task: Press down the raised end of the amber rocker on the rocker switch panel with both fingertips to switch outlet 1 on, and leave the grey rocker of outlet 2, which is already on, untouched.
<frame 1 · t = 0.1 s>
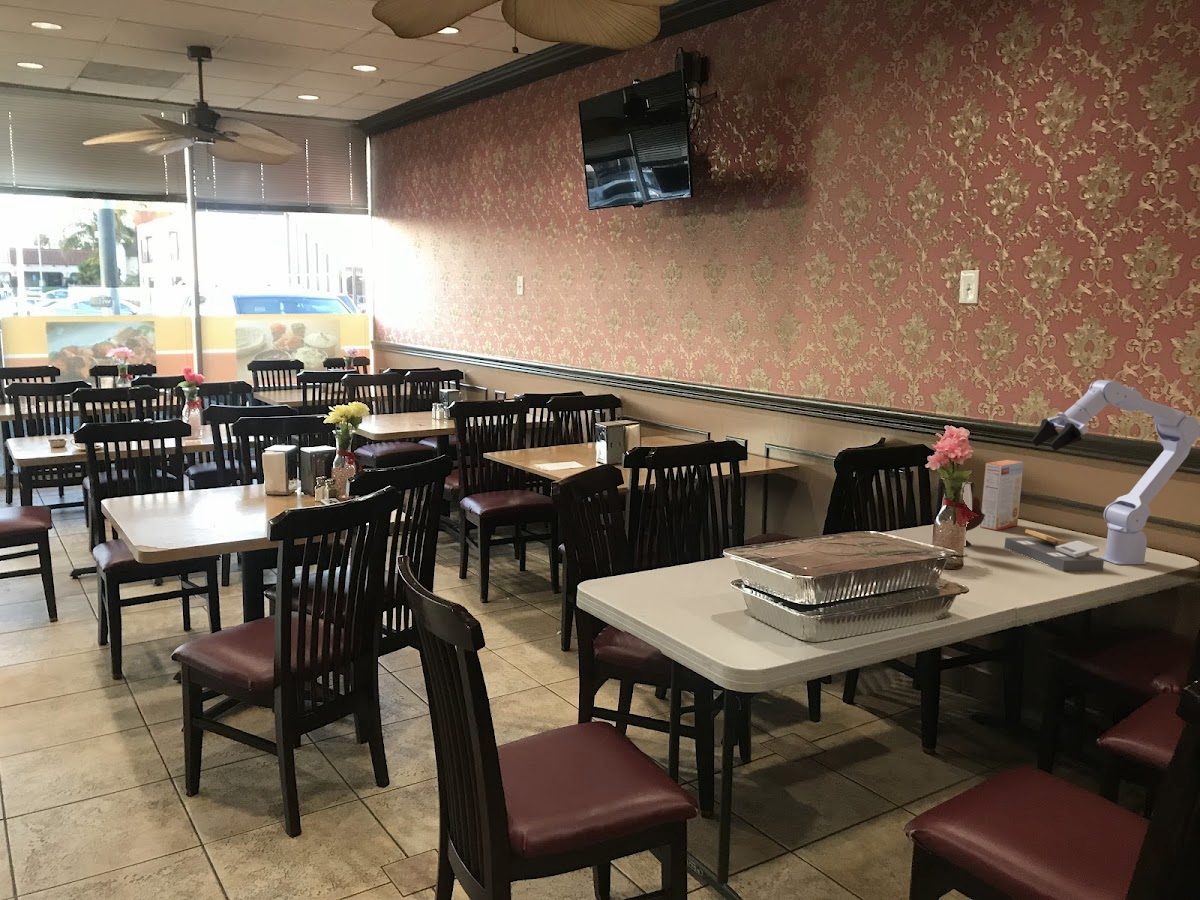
hand: (1043, 445, 254), 32 cm above the table, tool tilted 50°, fingers open, 7 cm apart
ice cream bowl: (960, 544, 276), on the table
wineglass: (952, 553, 264), on the table
rocker a: (1045, 538, 268), point 4 cm above the table, hinge at -14.0°
rocker switch panel: (1051, 559, 263), on the table
cracker box: (998, 527, 303), on the table
rocker b: (1076, 549, 256), point 4 cm above the table, hinge at 14.0°
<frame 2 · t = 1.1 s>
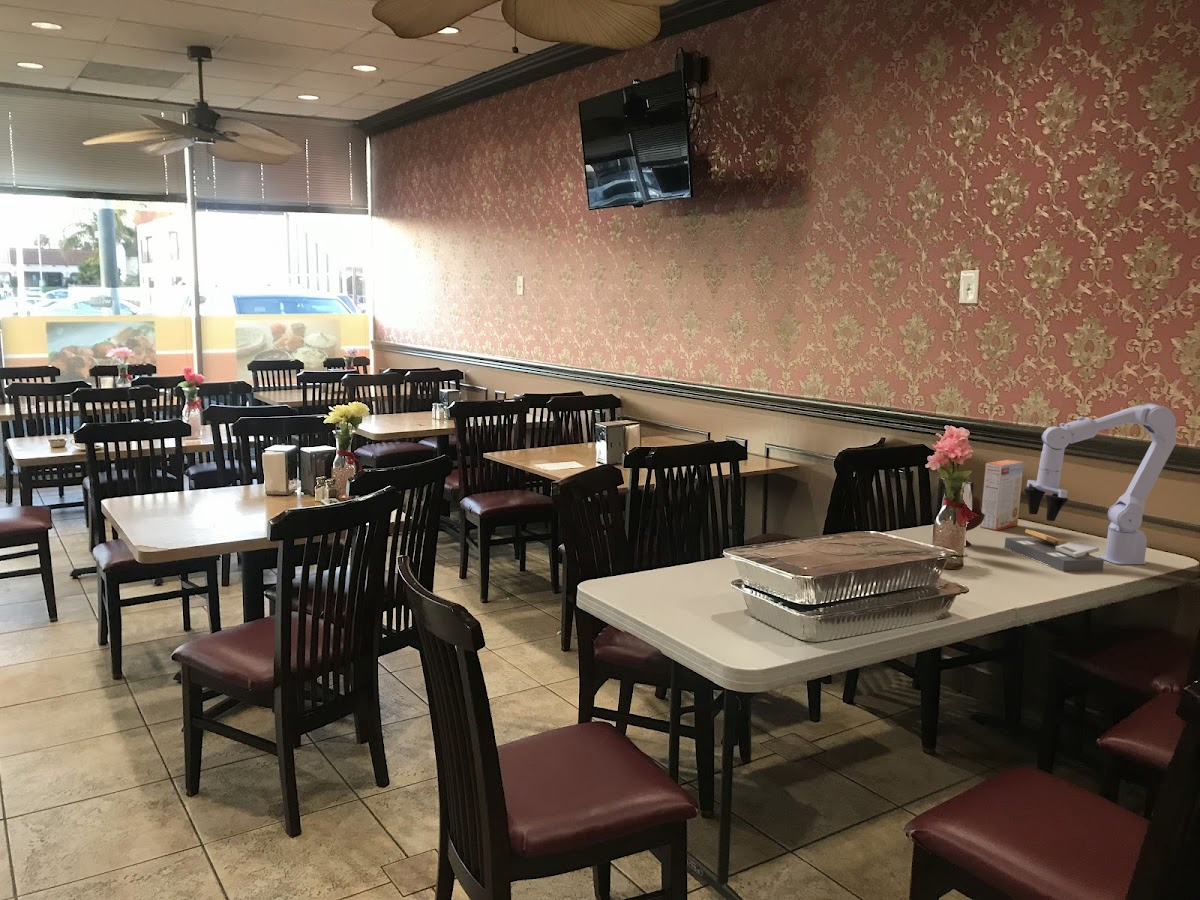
hand: (1041, 517, 267), 10 cm above the table, tool pointing down, fingers open, 7 cm apart
nothing on the table moved.
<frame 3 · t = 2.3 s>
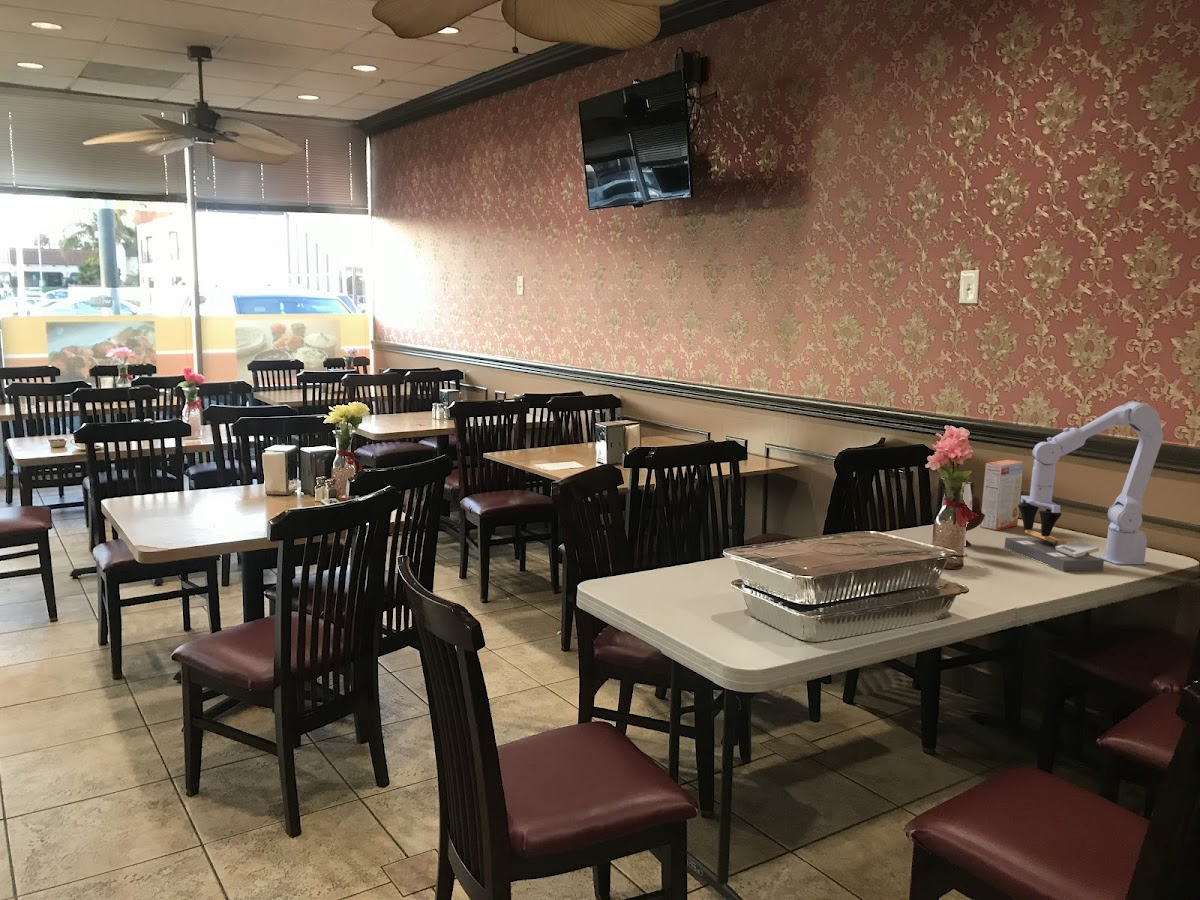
hand: (1036, 532, 268), 6 cm above the table, tool pointing down, fingers open, 7 cm apart
rocker a: (1045, 538, 268), point 4 cm above the table, hinge at -14.0°, touching gripper
everything else where it was.
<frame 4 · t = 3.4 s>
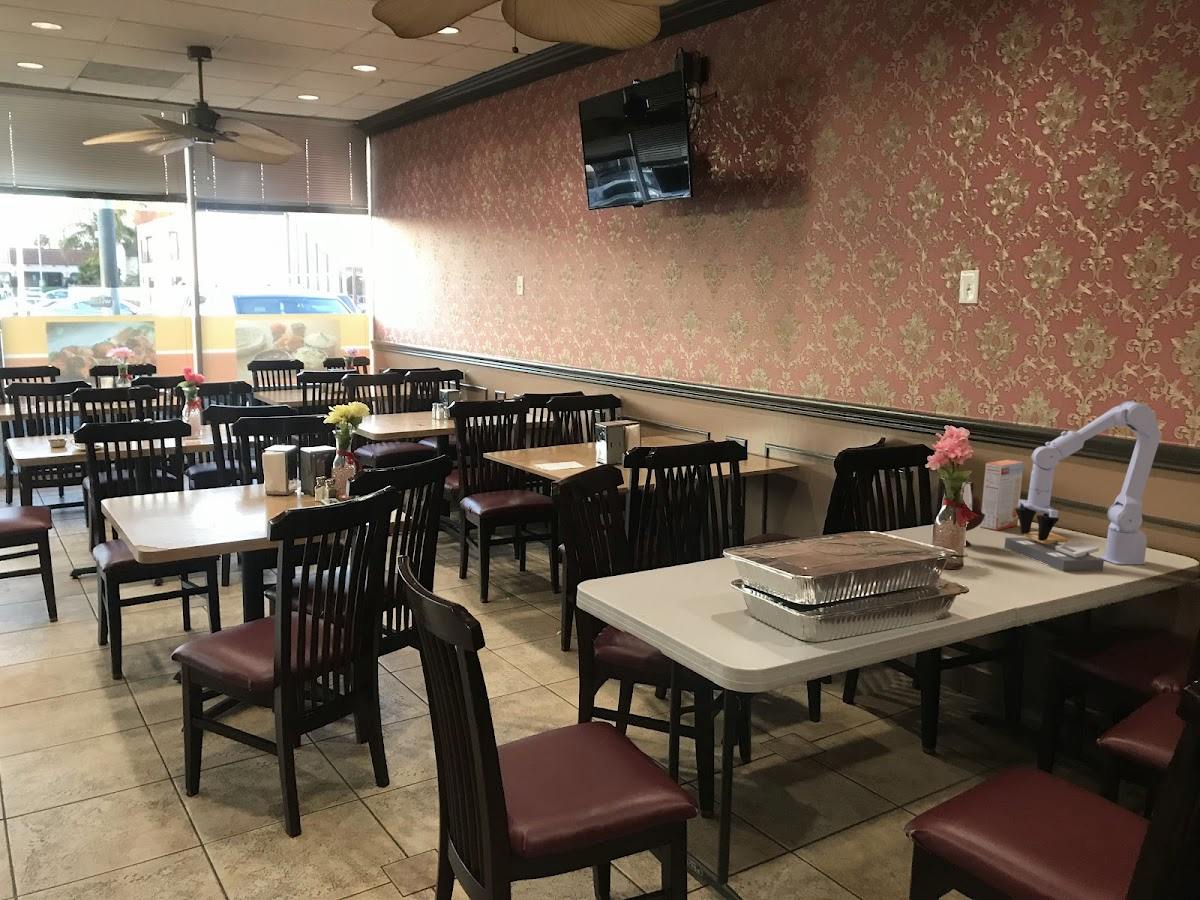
hand: (1033, 537, 268), 5 cm above the table, tool pointing down
rocker a: (1045, 538, 268), point 4 cm above the table, hinge at 4.0°, touching gripper
everything else where it was.
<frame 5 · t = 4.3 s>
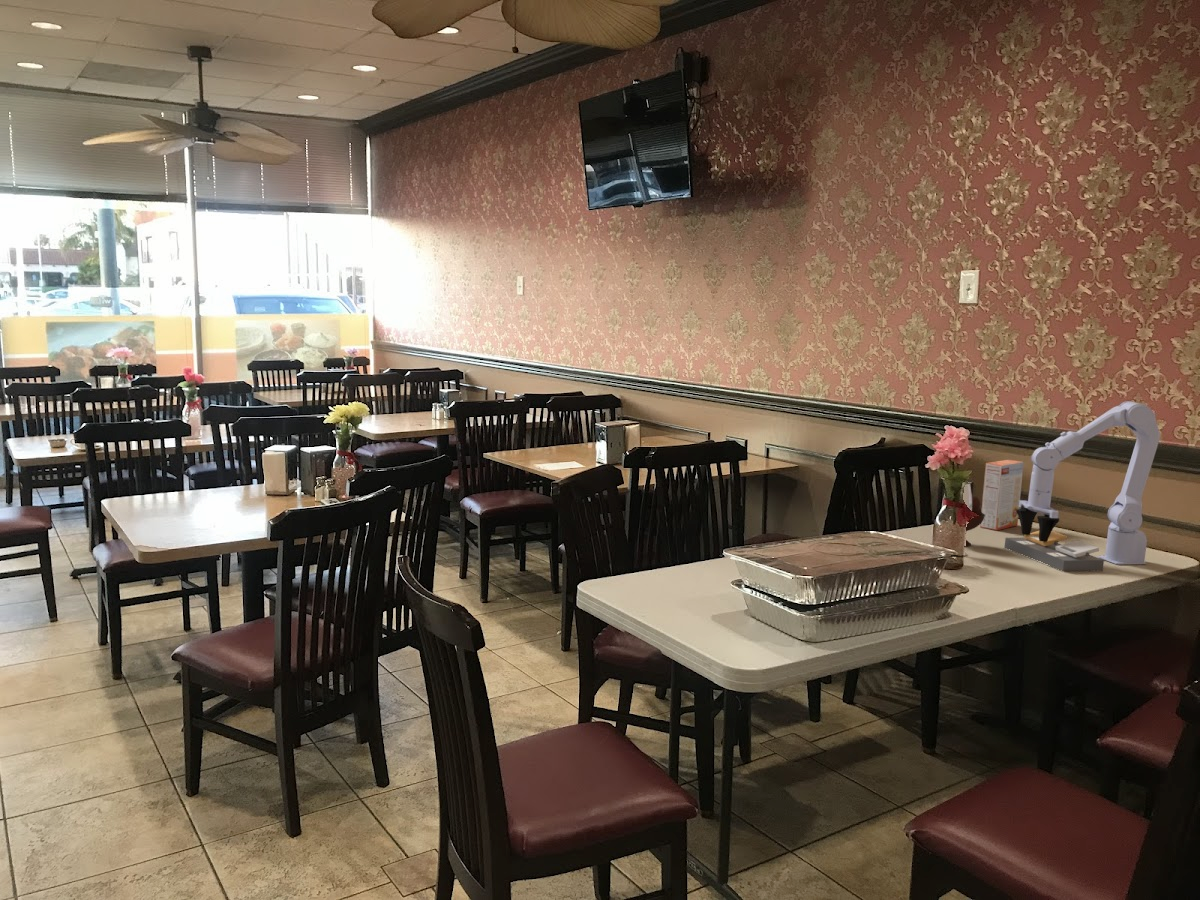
hand: (1034, 537, 268), 4 cm above the table, tool pointing down
rocker a: (1045, 538, 268), point 4 cm above the table, hinge at 16.3°, touching gripper
everything else where it was.
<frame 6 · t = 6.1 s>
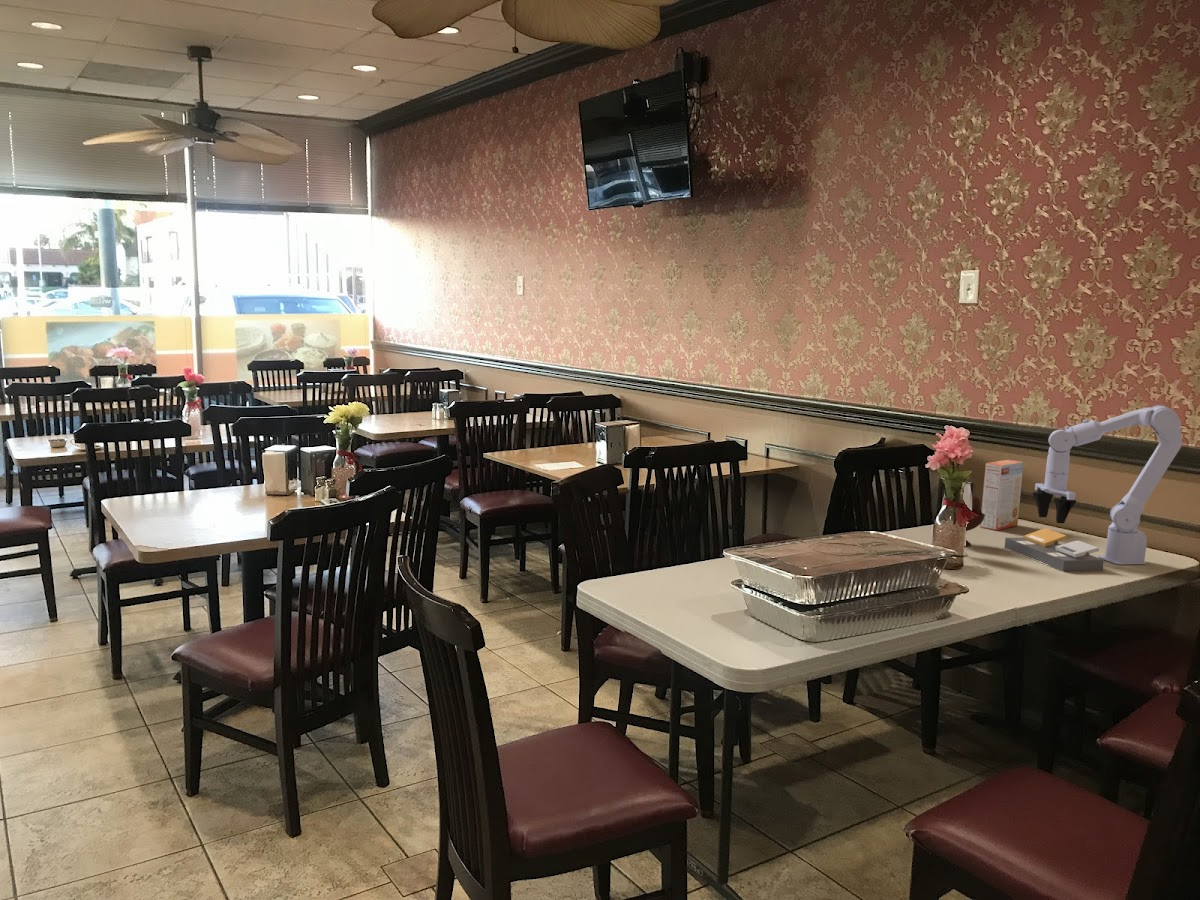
hand: (1051, 520, 269), 9 cm above the table, tool pointing down, fingers open, 7 cm apart
rocker a: (1045, 538, 268), point 4 cm above the table, hinge at 18.9°
everything else where it was.
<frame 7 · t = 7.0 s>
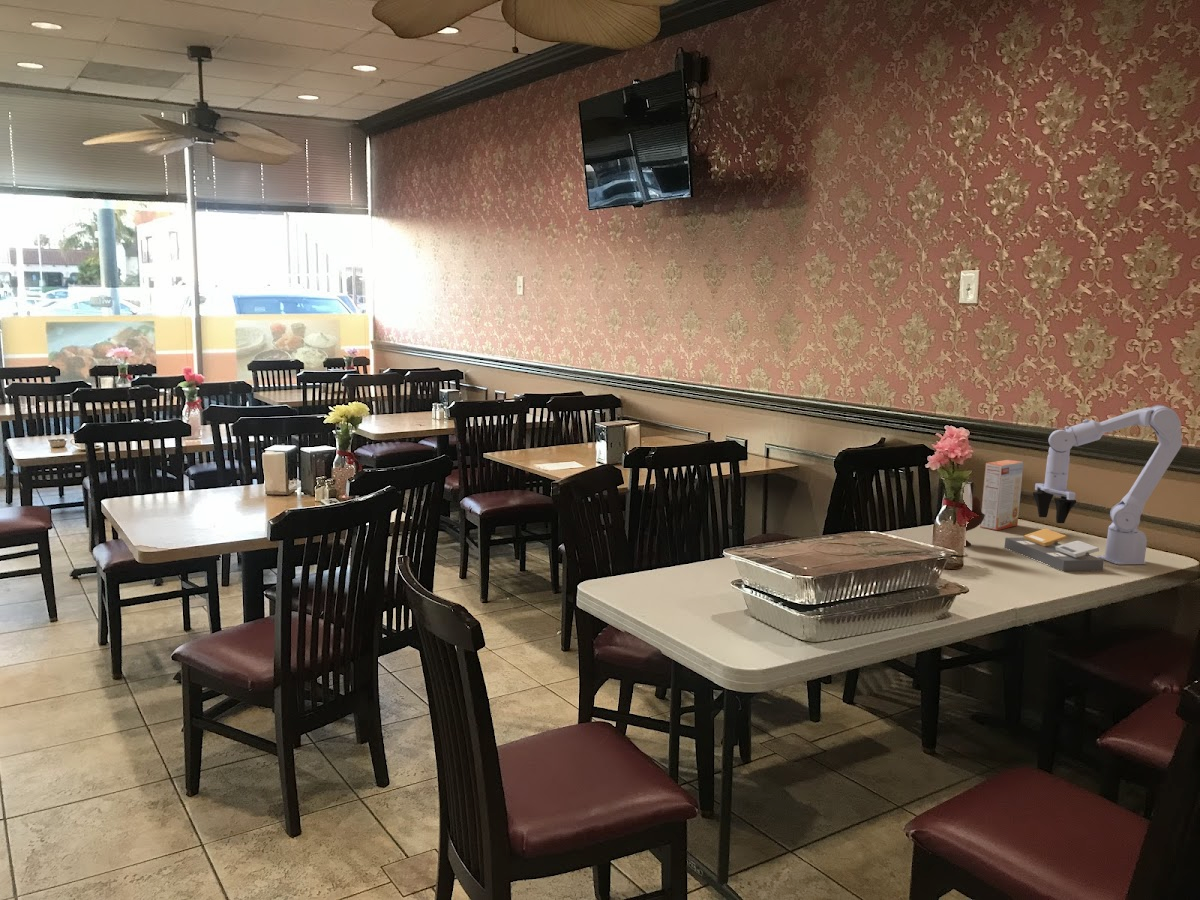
hand: (1051, 520, 269), 9 cm above the table, tool pointing down, fingers open, 7 cm apart
rocker a: (1045, 538, 268), point 4 cm above the table, hinge at 17.4°
everything else where it was.
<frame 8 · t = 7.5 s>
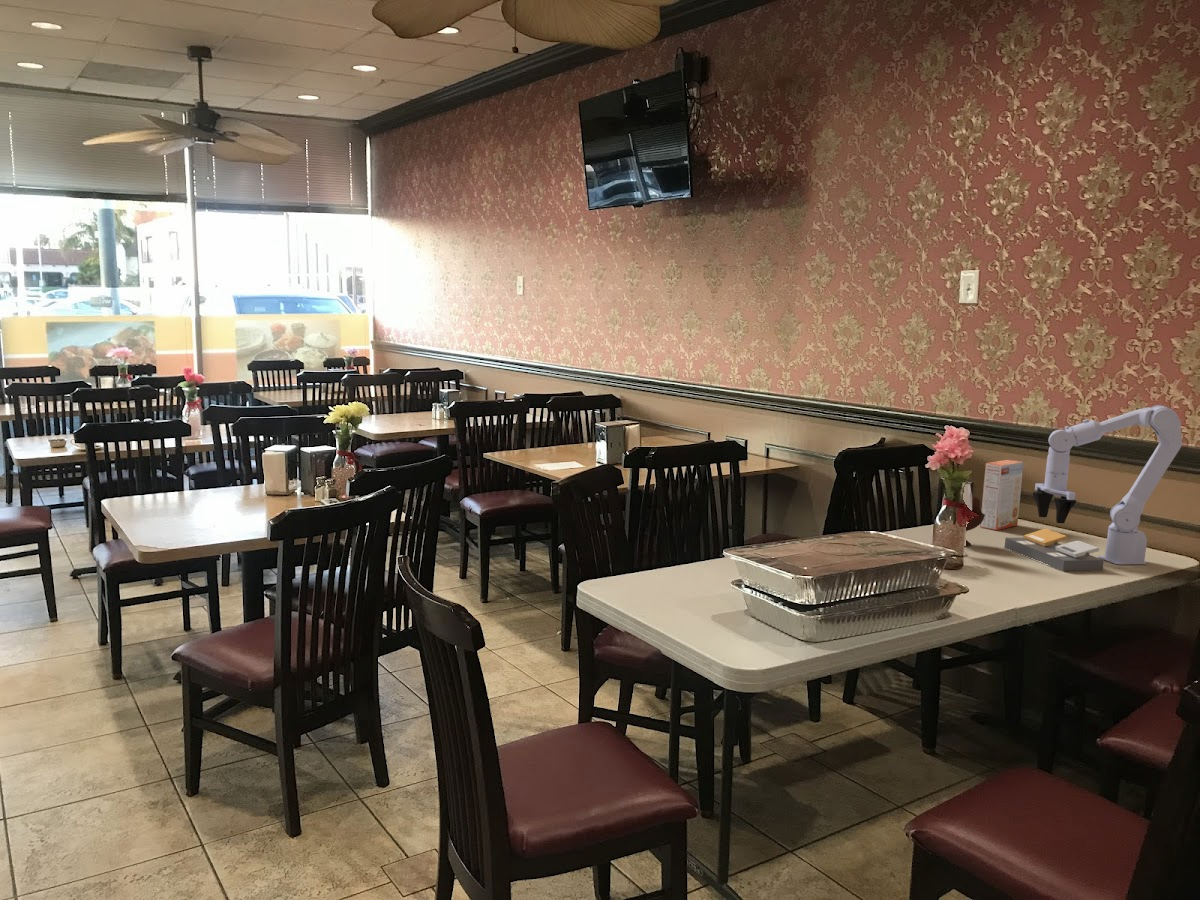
hand: (1051, 520, 269), 9 cm above the table, tool pointing down, fingers open, 7 cm apart
rocker a: (1045, 538, 268), point 4 cm above the table, hinge at 16.8°
everything else where it was.
at the end: rocker a at +17° (first picture: -14°); rocker b at +14° (first picture: +14°) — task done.
